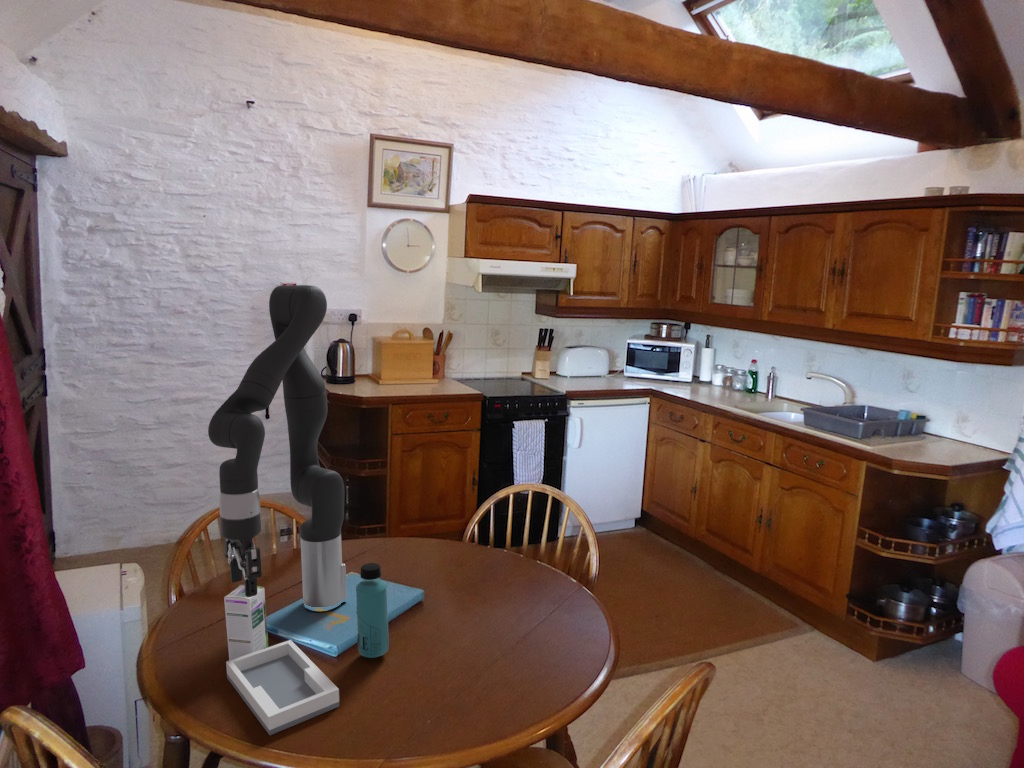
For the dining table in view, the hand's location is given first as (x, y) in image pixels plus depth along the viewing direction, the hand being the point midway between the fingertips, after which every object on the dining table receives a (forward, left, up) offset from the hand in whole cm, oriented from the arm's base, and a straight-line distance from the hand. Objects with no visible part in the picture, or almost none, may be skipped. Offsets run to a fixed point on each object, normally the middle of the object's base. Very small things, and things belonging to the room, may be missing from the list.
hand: (243, 588), depth 144 cm
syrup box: (0, 0, -15) cm, 15 cm away
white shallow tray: (-1, +16, -15) cm, 22 cm away
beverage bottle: (-20, +16, -15) cm, 30 cm away
